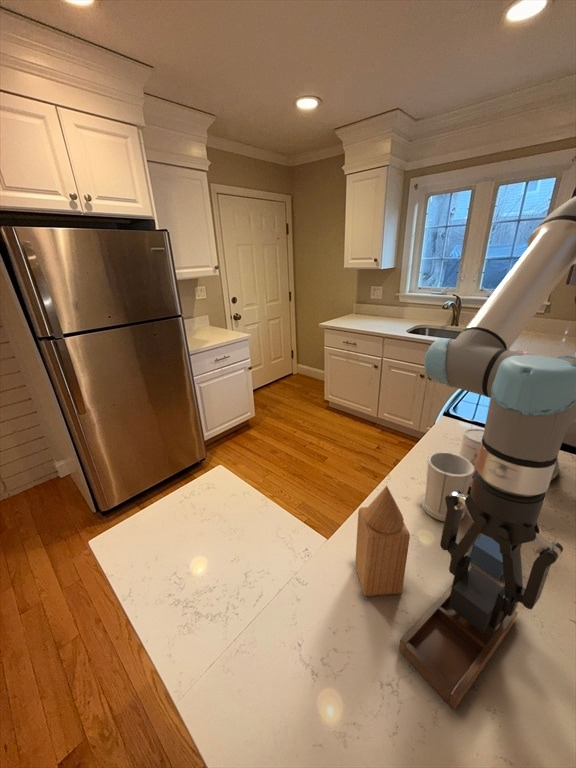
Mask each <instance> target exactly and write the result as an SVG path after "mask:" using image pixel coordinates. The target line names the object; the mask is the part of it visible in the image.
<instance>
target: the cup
mask: <svg viewBox="0 0 576 768" xmlns="http://www.w3.org/2000/svg"><path fill="white" fill-rule="evenodd" d="M473 473H474V466H473V465H472V463H471V462H470V461H469V460H467V459H466V458H464V457H462V456H460V454H458V453H454V452H450V451H436V452H433V453H430V454H429V455H428V456H427V461H426V479H425V488H424V489H425V490H424V493H423V494H422V497H421V501H420V502H421V503H420V504H421V507H422V509H423V510H424V511H425V512H426V513H427V514H428V515H429V516H430V517H432V518H433V519H436V520H437V521H441V522H444V523H445V518H446V513H447V506H446V500H445V497H446V496H447V495H449V494H450V493H451V492H452V491H454V490H455V489H457V490H459V491H460V492H461V493H462V494H463V495H467V496H469V495H468V494H467V492H468V489H469V486H470V487H472V482H473V478H472V476H473ZM465 515H466V506H465V507H464V508H463V513H462V517H461V520H463V519H464V517H465Z"/></svg>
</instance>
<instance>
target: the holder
mask: <svg viewBox="0 0 576 768" xmlns="http://www.w3.org/2000/svg"><path fill="white" fill-rule="evenodd" d="M451 589H452V585H450V586H449V587H448V588H447V590H446V591H444V593H443V594H442V595H441V596H440V597H439V598H438V599H437V600H436V602H434V604H433V605H432V606H431V607H429V608H428V610H427V611H426V612H425V613H424V614H423V615H422V616H421V617H420V618H419V620H417V622H415V623H414V624H413V626H411V628H410V629H409V630H408V631H407V632H406V633H405V634H404V635H403V636H402V637H401V638H400V639H399V645H398V652H400V653H401V654H402V655H403V656H404V658H405V659H406V660H408V662H409V664H411V665H412V666H413V667H414V669H416V671H418V673H419V674H420V675H421V676H422V677H423V679H425V680H426V681H427V682H428V683H429V684H430V686H431V687H432V688H433V689H434V690H435V691H436V692H437V693H438V694H439V696H441V697H442V698H443V699H444V701H445V702H446V703H447V704H448V705H449V706H450V708H452V709H453V710H456V709H457V707H458V706H459V704H460V703H461V701H462V700H463V698H465V695H466V694H467V693H468V691H469V689H470V688H471V687H472V686H473V684H474V682H475V681H476V679H477V678H478V676H479V675H480V674H481V672H482V671H483V669H484V668H485V666H486V665H487V664H488V662H489V661H490V659H491V658H492V656H493V655H494V654H495V652H496V650H497V649H498V647H499V646H500V645H501V643H502V641H503V640H504V638H505V637H506V635H508V632H509V631H510V630H511V628H512V627H513V625H514V624H515V623H516V620H517V617H518V613H519V611H517V610H515V611H514V612H513V614H512V615H511V616H508V615H507V614H505V613H504V616H503V619H502V620H501V621H500V623H499V624H498V625H497V627H496V628H495V630H494V629H493V628H492V627H490V626H488V628H487V629H486V630H485V632H484V633H483V634H482V633H481V632H480V631H478V630H477V629H476V628H475V627H474V626H472V625H471V624H470V623H469V622H468V621H466V620H465V619H464V618H463V617H462V616H460V615H459V614H458V613H457V612H456V611H454V610H453V609H452V608H451V607H450V606H449V602H450V598H451V595H450V593H451Z"/></svg>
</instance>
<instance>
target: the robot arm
mask: <svg viewBox="0 0 576 768" xmlns="http://www.w3.org/2000/svg"><path fill="white" fill-rule="evenodd" d="M573 265H576V195H575V196H573V197H572V198H570V199H568V200H567V201H565V202H564V203H562V204H561V205H560V206H559V207H557V208H556V209H554V210H553V211H552V212H550V213H549V214H548V215H547V216H546V217H545V218H544V219H543V220H541V222H540V223H539V225H538V226H537V227H536V228H535V229H534V230H533V232H532V233H531V235H530V236H529V237H528V241H527V248H526V249H525V251H524V252H523V254H522V255H521V256H520V258H519V259H518V260H517V261H516V262H515V264H514V265H513V266H512V267H511V269H510V270H509V271H508V273H507V274H506V275H505V276H504V277H503V279H502V280H501V281H500V283H498V285H497V287H496V288H495V289H494V291H492V292H491V294H490V295H489V297H488V298H487V299H486V301H484V303H483V304H482V306H481V307H480V308H479V309H478V311H477V312H476V313H475V315H473V317H472V318H471V320H470V321H469V322H467V325H465V327H464V328H463V330H462V331H461V332H460V333H459V335H458V336H457V337H456V338H455V339H453V338H451V337H450V338H449V337H448V338H443V337H442V338H438V339H437V340H435V341H433V342H432V343H431V344H430V346H429V347H428V349H427V351H426V353H425V357H424V361H423V363H424V364H423V367H424V368H423V369H424V371H425V374H426V376H427V377H428V378H429V379H430V380H432V381H434V382H437V383H439V384H442V385H445V386H446V387H449V388H456V389H459V390H461V391H466V392H469V393H472V394H476V395H480V396H483V397H485V398H489V399H490V400H489V404H488V409H487V414H486V419H485V424H484V429H483V430H484V434H483V437H482V441H481V446H480V451H479V455H478V460H477V465H476V468H477V470H476V471H475V473H474V478H473V482H472V487H471V493H470V495H469V496H467V495H463V494H462V493H461V492H460V491H459V490H457V489H455V490H454V491H452V492H451V493H450V494H449V495H447V496H446V497H445V500H446V506H447V513H446V518H445V522H444V523H443V528H442V533H441V538H440V543H439V546H440V548H441V549H442V550H443V551H447V552H448V553H449V555H450V563H449V567H448V571H449V573H450V574H451V575H453V581H452V585H451V586H452V589H453V587H454V586H455V585H456V583H457V582H458V581H459V580H460V579H461V578H462V577H463V576H464V575H465V574H466V573H467V572H468V571H469V570H470V564H471V562H472V561H471V558H470V555H467V553H468V552H469V551H470V550H471V549H472V546H473V544H474V542H475V541H476V540H477V539H478V538H479V537H480V536H481V535H482V534H484V535H485V536H488V537H491V538H492V539H493V540H494V541H496V542H497V543H498V544H499V546H500V553H501V554H502V560H503V572H504V573H503V584H504V585H503V586H502V587H503V588H502V589H501V591H500V592H499V593H498V596H497V599H496V602H495V606H494V610H493V614H492V617H491V620H490V624H489V626H490V627H492V628H493V629H494V630H495V628H496V627H497V625H498V624H499V623H500V621H501V620H502V619H503V616H504V613H505V614H507V615H508V616H511V615H512V614H513V612H514V611H515V610H516V609H517V608H518V605H519V603H521V604H522V606H523V607H525V608H526V609H527V610H533V609H534V607H535V606H536V604H537V602H538V601H539V600H540V598H541V595H542V593H543V589H544V587H545V584H546V581H547V577H548V575H549V571H550V569H551V565H553V564H554V563H556V561H557V560H558V558H559V557H560V556H561V554H562V553H563V551H564V547H563V545H561V543H559V542H556V541H552V542H551V541H549V540H548V539H547V538H546V537H544V536H543V534H541V533H540V527H539V524H538V521H539V517H540V514H541V511H542V508H543V504H544V502H545V500H546V499H545V498H546V492H547V491H548V489H549V487H550V483H551V481H552V480H555V478H556V477H557V475H558V472H559V459H558V457H559V452H560V450H561V447H562V445H563V444H565V445H568V446H571V447H574V448H576V354H575V355H574V354H572V355H561V356H558V357H552V356H548V355H538V354H532V353H528V352H527V353H522V352H516V351H514V350H511V351H510V349H511V347H512V346H513V344H514V343H515V342H516V340H517V339H518V338H519V336H520V335H521V334H522V333H523V331H524V330H525V328H526V327H527V326H528V325H529V323H530V322H531V321H532V319H533V318H534V316H535V315H536V313H537V312H538V311H539V309H540V308H541V307H542V306H543V304H544V303H545V301H546V300H547V299H548V298H549V296H550V295H551V294H552V292H553V291H554V290H555V288H556V287H557V285H558V284H559V283H560V282H561V280H562V279H563V278H564V276H565V275H566V273H567V272H568V271H569V270H570V268H571V267H572V266H573ZM464 507H465V508H466V509H467V511H468V513H469V516H470V518H471V520H472V523H471V525H470V526H469V528H468V529H467V530H466V533H465V534H464V535H463V537H462V538H461V539H460V541H459V543H457V538H458V533H459V529H460V525H461V521H462V519H461V517H462V513H463V508H464ZM530 542H532V543H533V545H534V547H533V552H534V556H535V557H536V558H535V560H534V561H533V563H532V567H531V569H530V573H529V576H528V580H527V582H526V586H525V587H524V583H523V568H522V554H521V553H522V552H521V548H522V544H523V545H524V544H526V543H530ZM452 589H451V593H452ZM451 593H450V595H451ZM516 611H517V610H516Z"/></svg>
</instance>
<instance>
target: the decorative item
mask: <svg viewBox="0 0 576 768" xmlns="http://www.w3.org/2000/svg"><path fill="white" fill-rule="evenodd" d="M357 513H358V514H357V526H356V527H357V528H356V545H355V560H354V562H355V567H356V571H357V575H358V578H359V581H360V582H359V583H360V585H361V589H362V592H363V594H364V595H365V596H368V597H370V596H383V595H384V596H385V595H397V594H401V593H403V589H404V581H405V573H406V568H407V567H406V566H407V561H408V560H407V559H408V552H409V545H410V540H411V539H410V538H411V533H410V531H409V529H408V528H407V525H406V523H405V520H404V516H403V513H402V512H401V510H400V508H399V506H398V504H397V502H396V500H395V498H394V496H393V494H392V492H391V491H390V489H389V487H388V486H387V485H386V486H384V488H383V489H382V490H381V492H379V493H378V495H377V496H376V497H375V498H374V499H373V500H372V502H371V503H369V505H368V506H362V507H359V508H358V512H357Z"/></svg>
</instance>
